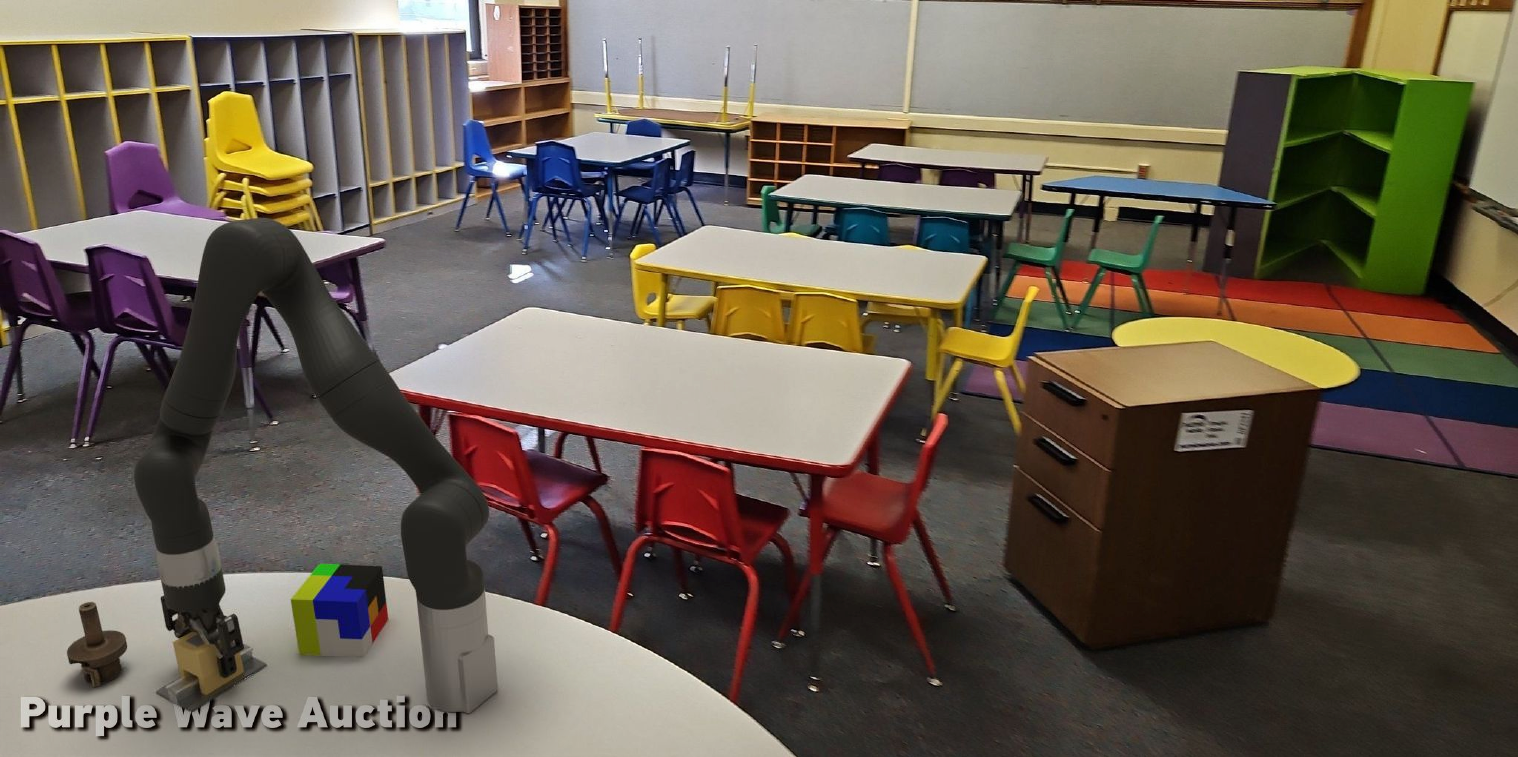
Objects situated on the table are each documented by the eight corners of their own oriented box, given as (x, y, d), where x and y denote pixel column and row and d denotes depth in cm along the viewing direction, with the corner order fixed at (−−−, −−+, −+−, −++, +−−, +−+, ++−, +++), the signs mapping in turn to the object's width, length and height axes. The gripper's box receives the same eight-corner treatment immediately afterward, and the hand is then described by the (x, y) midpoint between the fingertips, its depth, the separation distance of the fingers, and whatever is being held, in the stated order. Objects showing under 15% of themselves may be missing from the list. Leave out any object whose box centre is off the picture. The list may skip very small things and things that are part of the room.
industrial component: (101, 696, 142) (84, 625, 138) (60, 687, 144) (41, 617, 140) (153, 656, 151) (138, 589, 147) (114, 648, 152) (97, 581, 148)
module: (243, 672, 148) (236, 630, 145) (206, 695, 143) (197, 652, 140) (219, 660, 150) (211, 619, 147) (181, 682, 145) (172, 640, 142)
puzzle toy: (364, 657, 153) (356, 602, 149) (299, 654, 153) (290, 599, 149) (388, 619, 162) (382, 566, 158) (327, 616, 162) (319, 563, 158)
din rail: (266, 665, 150) (264, 653, 149) (191, 712, 140) (189, 699, 139) (231, 649, 153) (229, 637, 152) (156, 693, 143) (153, 680, 143)
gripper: (248, 571, 140) (265, 667, 146) (183, 544, 146) (202, 637, 152) (198, 597, 134) (218, 696, 140) (133, 568, 140) (154, 664, 146)
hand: (210, 665), depth 146 cm, fingers open, 8 cm apart
